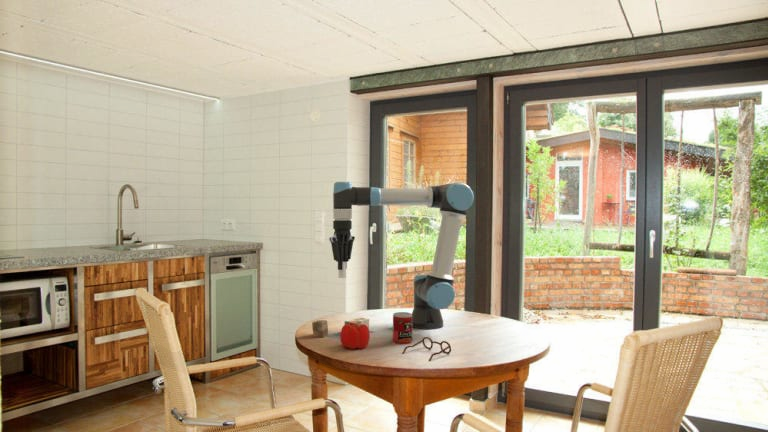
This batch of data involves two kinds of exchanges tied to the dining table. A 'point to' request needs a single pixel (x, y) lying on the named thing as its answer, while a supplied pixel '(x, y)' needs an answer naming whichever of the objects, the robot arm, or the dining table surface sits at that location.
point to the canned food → (402, 327)
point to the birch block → (359, 321)
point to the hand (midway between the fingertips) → (342, 277)
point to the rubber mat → (337, 335)
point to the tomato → (354, 336)
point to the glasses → (431, 346)
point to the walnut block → (320, 328)
